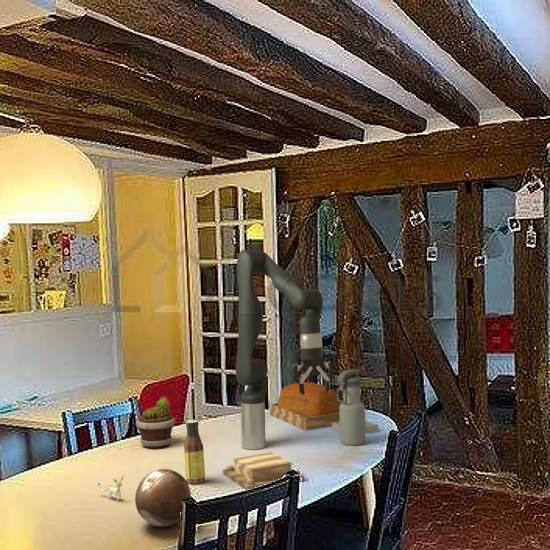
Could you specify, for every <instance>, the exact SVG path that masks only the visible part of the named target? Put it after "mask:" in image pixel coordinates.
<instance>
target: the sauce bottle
mask: <svg viewBox="0 0 550 550" xmlns="http://www.w3.org/2000/svg"><path fill="white" fill-rule="evenodd" d="M185 427H186V438H185V440H184V443H183V447H184V453H183V454H184V469H185V479H186V481H187V483H188V484H190V485H198V484H202V483H205V480H206V479H205V478H206V469H205V468H206V467H205V453H204V452H205V451H204V449H205V448H204V443H203V441H202V439H201V436H200V432H199V420H197V419H190V420H187V421H186V420H185Z"/></svg>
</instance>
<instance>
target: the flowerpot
mask: <svg viewBox="0 0 550 550" xmlns="http://www.w3.org/2000/svg"><path fill="white" fill-rule="evenodd" d="M170 405H171V400H168V397H167V396H165V395H163V396H161V397H159V399H158V400H157V401H156V405H155V406H154V407H153V408H151V407H149V408H147V409H144V412H143V413H142V415H141V416H138V419H136V423H135V425H136V428H139V433H140V439H139V443H141V445H142V446H143V447H144V449H145V448H146V449H151V450H155V449H164V448H166V447H168V446H169V445H170V443H171V442H172V440H173V437H172V430H173V426H174V425H175V424H176V418H175V417H174V416H173V415H172V414H171V413H170V411H171V410H170V409H171V406H170Z"/></svg>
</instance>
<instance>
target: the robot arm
mask: <svg viewBox="0 0 550 550" xmlns="http://www.w3.org/2000/svg"><path fill="white" fill-rule="evenodd" d="M236 270H237V271H236V272H237V285H238V318H237V319H238V320H237V321H238V331H237V333H238V335H237V338H238V339H237V352H236V361H235V378H236V381H237V382H238V384H239V385H241V386H243V387H244V386H245V387H246V386H247V388H246V389H245V391H243V393H241V395H240V425H241V426H240V428H241V431H240V433H241V435H240V436H241V437H240V439H241V448H242V449H246V450H261V449H264V448H265V447H267V446H266V445H267V444H266V441H267V440H266V435H267V434H266V406H265V405H266V401H265V399H266V395H267V391H268V390H267V388H268V387H267V386H268V385H267V383H268V370H267V366H266V364H265V363H264V361H263V360H261V359H259V358H254V357H253V356H254V348H255V346H256V344H257V340H258V338H259V336H260V334H261V332H262V328H263V325H264V324H263V323H264V322H263V321H264V320H263V319H264V310H263V306H262V303H261V301H260V299H259V298H258V295H257V293H256V290H255V288H254V281H253V278H254V277H253V275H258V274H259V275H260V274H261V275H264V276H266V277H268V278H269V279H271V282H272V284H273V286H274V289H276V290H278V291H279V293H282V295H283V296H285V297H287V299H288V300H289V301H290V303H291V304H292V305H293V307H295V308H297V309H298V310H301V311H302V310H304V311H305V310H306V315H304V316H302V317H301V318H299V333H300V339H299V344H300V356H301V357H300V358H301V359H300V360H301V363H300V364H293V365H292V382H293V383H295V384H296V383H298V384H299V392H300V393H301V394H302V395H305V392H304V384H303V382H305V380H306V379H307V378H308V377H313V376H316V377H317V376H321V378H322V379H323V384H324V385H323V386H324V387H325V392H328V390H330V389H331V387H330V386H331V385H330V381H331V380H334V379H335V373H334V372H335V371H334V365H333V364H334V363H333V361H330V360H329V361H327V362H324V354H323V353H324V352H323V340H322V334H321V324H320V322H321V321H320V320H321V316H322V310H323V309H322V308H323V304H324V303H323V302H324V300H323V294H322V293H321V292H320V290H319V289H316V288H305V289H303V288H304V287H303V284H302V283H301V282H300V281H299V280H298V279H296V278H295V277H294V276H292V275H290V274H289V273H287V272H286V271H285V270H284V269H282V267H280V266H279V265H278V263H276V261H274V260H273V259H272V257H270V256H269V254H268V253H267V252H265V251H264V250H261V249H243V250H241V251H240V252H239V253H238V255H237V258H236ZM253 358H254V359H253ZM325 368H326V369H327V371H328V375H327V373H325V371H324V369H325ZM300 370H302V373H301V375H300V377H299V371H300Z"/></svg>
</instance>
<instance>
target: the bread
mask: <svg viewBox="0 0 550 550" xmlns="http://www.w3.org/2000/svg"><path fill="white" fill-rule="evenodd" d="M303 384H304V392H305V395H302V394H301V393H300V392H299V384H298V383H296V382H295V383H290V384H288V385H286V386H284V387H283V388H282V389H281V390H280V393H279V397H278V399H277V403H278V407H279V408H284V409H286V410H289V411H291V412H294V413H296V414H299V415H301V416H303V417H313V416H320V415H327V414H334V413H339V406H340V402H339V401H338V400H337V392H335V390H333V389H331V388H330V390H328V392H325V387H324V385H322V384H318V383H315V382H311V381H307V382H305V381H304V382H303Z"/></svg>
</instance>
